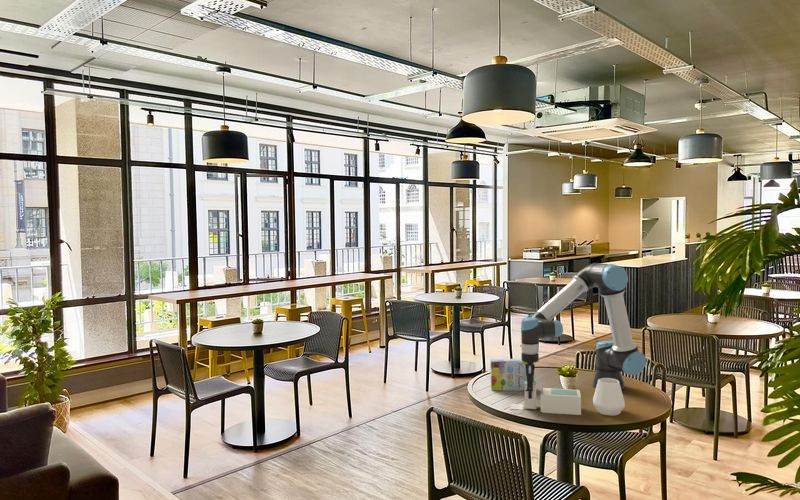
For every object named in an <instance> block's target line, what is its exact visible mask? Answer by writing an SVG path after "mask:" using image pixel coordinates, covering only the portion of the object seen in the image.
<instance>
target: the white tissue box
mask: <svg viewBox="0 0 800 500" xmlns="http://www.w3.org/2000/svg"><path fill="white" fill-rule="evenodd" d="M580 390H581V389H569V388H567V389H566V388H549V387H540V413H541V412H542V413H543V414H559V415H574V416H575V415H576V416H582V396H581V391H580Z"/></svg>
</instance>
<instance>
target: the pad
mask: <svg viewBox="0 0 800 500" xmlns="http://www.w3.org/2000/svg"><path fill="white" fill-rule="evenodd" d="M509 409H510V410H512V411H513V410H515V411H524V404H521V403H520V404H519V403H511V404H510V407H509Z"/></svg>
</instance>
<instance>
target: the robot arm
mask: <svg viewBox="0 0 800 500" xmlns="http://www.w3.org/2000/svg"><path fill="white" fill-rule="evenodd" d="M628 282H629V276H628V273H627V271H626V269H624V268H623V267H622V266H620V265H618V264H613V263H610V264H609V263H601V262H593V263H591V264H588V265H586V266H585V267H583V268H582V269H580V270H579V271H577V273H576V274H574V275H573V276H572V278H571V280H570V281H569V283H568V284H566V285H565V286H563V288H562V289H560V290H559V291H558V292H557V293H556V294H555V295H554V296H553V297H551V298H550V299H549V300H548V301H547V302H545V304H544V305H542V306H541V307H540V308H539V309H538V310H536V311H535V312H534V313H533V314H528V315H526V316H524V317H523V318H522V319H521V323H520V330H521V331H520V333H521V334H520V337H521V338H520V339H521V344H520V345H519V347H521V359H522V361H523V362H527V364H526V375H527V390H525V391H527V405H530V406H533V381H534V382H535V379H534V380H533V376H534V377H535V367H536V366H535V363H538V362H539V359H540V358H539V357H540V355H539V352H540V351H539V348H540V347H539V346H540V345H539V344H540V343H539V339H549V338H551V339H552V338H557V337H561V336H562V335H563V332H564V327H563V326H564V325H563V324H562V322H561V321H560V320H554V319H555V317H557V315H558V314H560V313H561V312H562V311H563V310H564V309H565V308H567V307H568V306H569V305H570V304H572V302H574V300H576V299H577V298H578V297H579V296H581V294H583V293H586V292H588V291H589V290H591V289H592V288H597V289H598V293H599V295H600V296H601V297H603V301H604V304H605V308H606V314H607V317H608V322H609V326H610V332H611V336H612V340H603V341H602V340H601V341H598V342H597V343H596V348H595V367H596V370H595V373H594V377H593V379H592V386H593V387H594V388H595V389H596V386H597V382H598V380H599V379H601V378H612V379H616V380H618V381H619V383H620V387H621V390H624V389H625V385H626V384H625V380H624V377H623V374H622V373H624V374H625V375H630V376H636V375H638V374H640V373H642V371H643V370H644V368H645V367H646V362H647V359H646V356H645V354H644V353H643V352H641V351H639V346H638V343H637V342H635V341H634V340H633V335H632V334H633V333H632V331H631V326H630V322H629V317H628V311H627V308H626V303H625V298H624V293H625V292H626V287H627V284H628ZM533 363H534V365H533ZM525 391H524V392H525Z"/></svg>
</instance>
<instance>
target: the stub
mask: <svg viewBox="0 0 800 500" xmlns="http://www.w3.org/2000/svg"><path fill="white" fill-rule="evenodd" d="M524 390H527V381H525V383H524ZM524 409H527V410H529V409H530V410H536V409H537V381H534V382H533V406H530V405H527V391H524Z"/></svg>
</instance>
